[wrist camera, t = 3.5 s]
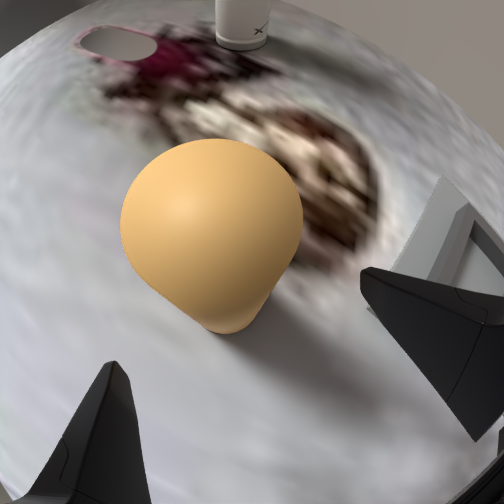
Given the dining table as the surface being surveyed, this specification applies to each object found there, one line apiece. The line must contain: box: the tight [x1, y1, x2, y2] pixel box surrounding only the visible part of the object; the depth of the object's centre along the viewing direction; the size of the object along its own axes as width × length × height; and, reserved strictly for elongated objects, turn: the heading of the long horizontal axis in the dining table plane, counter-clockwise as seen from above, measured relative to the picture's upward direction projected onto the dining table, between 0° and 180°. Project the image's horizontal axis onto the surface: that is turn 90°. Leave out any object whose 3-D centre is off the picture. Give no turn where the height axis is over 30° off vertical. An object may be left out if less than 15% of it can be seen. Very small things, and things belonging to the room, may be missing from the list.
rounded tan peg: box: [120, 139, 303, 334], centre depth 13 cm, size 5×5×13 cm
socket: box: [367, 175, 504, 318], centre depth 19 cm, size 16×16×3 cm
